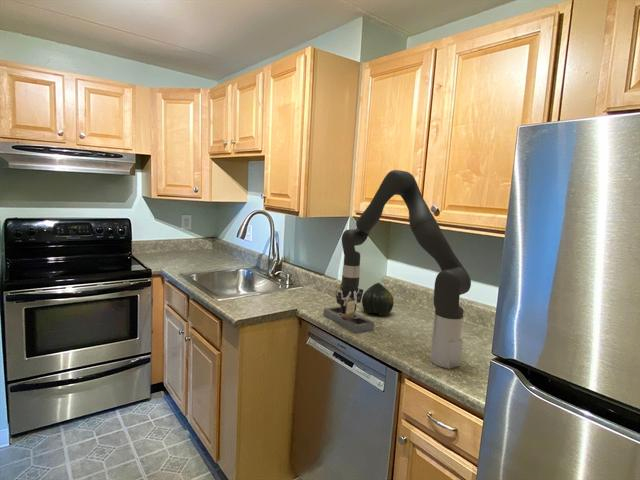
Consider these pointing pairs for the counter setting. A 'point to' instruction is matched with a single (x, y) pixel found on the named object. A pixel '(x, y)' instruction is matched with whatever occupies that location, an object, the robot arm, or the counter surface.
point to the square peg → (349, 309)
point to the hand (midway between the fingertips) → (348, 312)
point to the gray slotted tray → (349, 320)
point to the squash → (377, 300)
